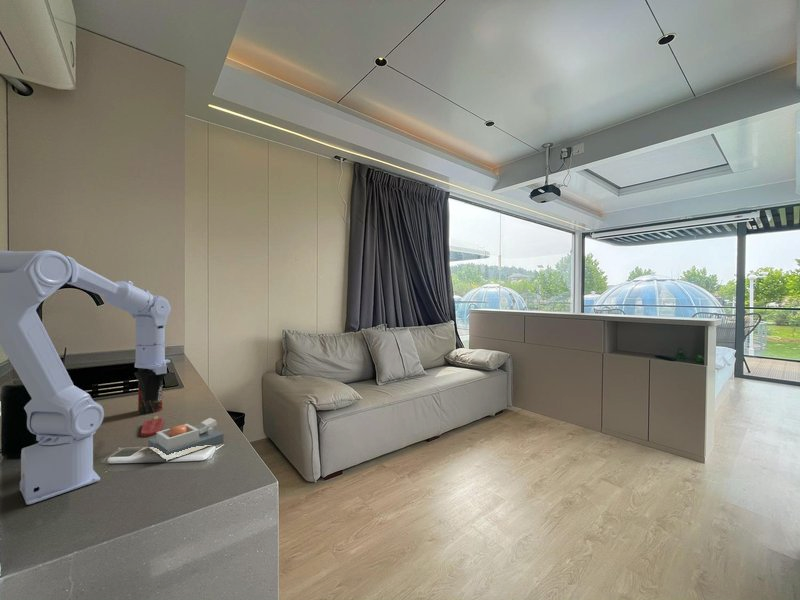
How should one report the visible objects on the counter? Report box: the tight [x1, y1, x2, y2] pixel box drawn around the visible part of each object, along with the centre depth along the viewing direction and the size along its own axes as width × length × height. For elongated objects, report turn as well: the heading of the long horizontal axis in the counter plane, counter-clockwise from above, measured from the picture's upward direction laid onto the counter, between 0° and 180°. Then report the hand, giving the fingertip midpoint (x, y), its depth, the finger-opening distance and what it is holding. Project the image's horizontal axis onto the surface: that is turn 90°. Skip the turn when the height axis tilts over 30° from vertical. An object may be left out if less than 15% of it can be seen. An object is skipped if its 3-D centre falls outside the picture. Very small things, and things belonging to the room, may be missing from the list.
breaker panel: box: [147, 423, 224, 455], centre depth 79 cm, size 12×11×4 cm
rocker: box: [194, 417, 218, 434], centre depth 82 cm, size 4×4×1 cm
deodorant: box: [137, 368, 163, 415], centre depth 102 cm, size 6×6×15 cm
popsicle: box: [140, 415, 165, 438], centre depth 90 cm, size 4×2×15 cm
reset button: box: [169, 424, 186, 437], centre depth 76 cm, size 3×3×3 cm
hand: (150, 399), depth 81 cm, fingers closed
